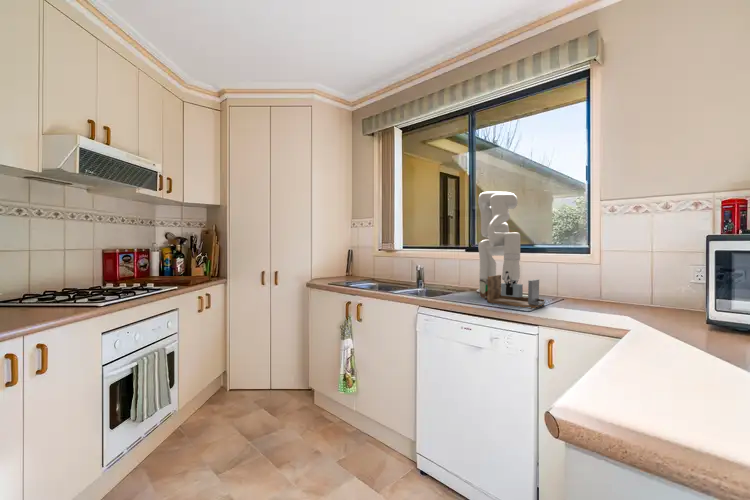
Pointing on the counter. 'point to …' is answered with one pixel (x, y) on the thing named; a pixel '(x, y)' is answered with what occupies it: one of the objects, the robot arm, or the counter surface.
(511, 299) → the rack
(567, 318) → the counter surface
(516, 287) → the grey rectangular block
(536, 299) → the bookend
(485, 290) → the food container
